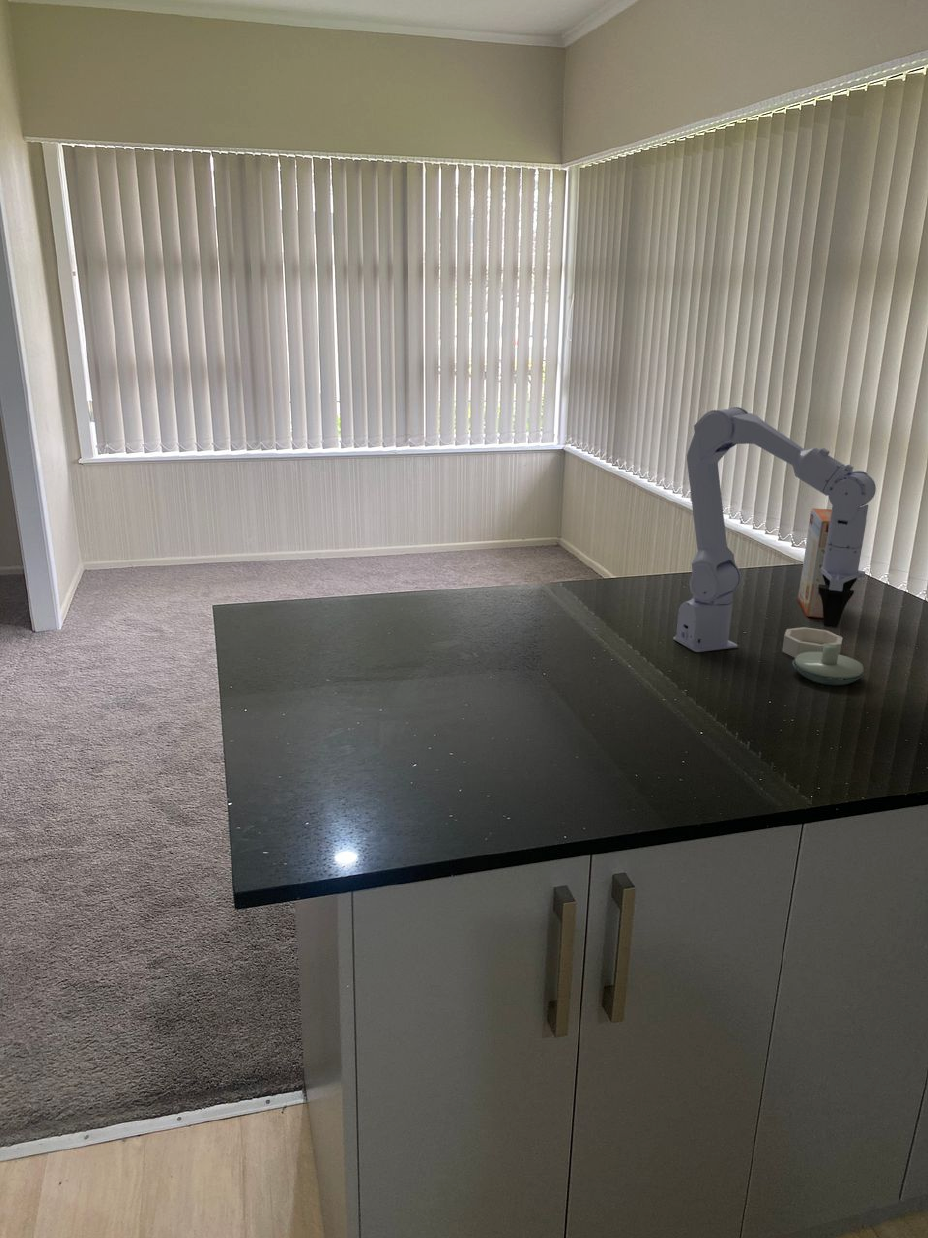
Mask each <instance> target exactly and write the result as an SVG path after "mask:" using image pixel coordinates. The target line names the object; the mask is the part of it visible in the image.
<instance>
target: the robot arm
mask: <svg viewBox="0 0 928 1238" xmlns="http://www.w3.org/2000/svg"><path fill="white" fill-rule="evenodd" d="M693 429H694V434H693V436H692V439H691V443H690V444H689V448H688V451H687V454H686V462H687V464H686V465H687V470H688V471H687V473H688V480H689V488H690V489H689V490H690V498H691V504H692V505H691V507H692V514H693V522H694V530H695V531H694V532H695V541H696V550H697V551H696V554H695V556H694V559H692V562H691V569H692V572H691V576H690V578H689V583H688V584H689V589H690V592H691V594H692V596H693V597H692V598H691V599H690V600H687V601H683V602H682V603H681V604H680V606H679V608H678V612H677V619H676V621H677V622H676V623H677V624H676V629H675V630H676V633H675V636H673V638H672V639H673V640H674V641H676V642H678V643H679V644H681V645H682V646H684V647H686V648H688V649H689V650H691V651H693V652H695V653H702V652H709V651H710V652H711V651H717V650H718V651H720V650H726V649H736V648H738V644H737V643H735V642H733V641H731V640H729V638H730V628H731V620H732V611H733V603H734V596H733V595H734V591H735V590H737V589H738V588H739V586H740V584H741V582H742V575H741V571H740V568H739V567H738V566H737V564H736V561H735V555H734V553H733V552H732V550H731V549H730V548H729V547H728V543H727V542H728V541H727V534H726V525H725V516H724V506H723V499H722V491H721V480H720V471H719V462H720V460H721V459H722V458H723V457H724V456H725V455H726V454H727V453H728V452H729V450H730V449H731V448H733V447H734V446H736V445H739V444H740V445H755V446H757V447H759V448H760V449H762V450H764V451H766V452H767V453H769V454H771V455H773V456H775V457H776V458H778V459H780V460H782V461H783V462H786V463H788V464H789V465H791V466H792V468H793V473H794V476H795V477H796V478H797V479H799V480H800V481H802V482H804V483H805V484H807V485H808V486H810V487H812V488H813V489H815V490H816V491H818V492H820V493H821V494H823V495H825V496H828V500H829V502H830V504H831V506H832V507H831V509H832V512H831V517H830V523H829V529H828V536H827V542H826V548H825V555H824V561H823V566H822V567H821V573H822V574H823V578H824V581H825V585H823V584H819V586H818V590H819V593H820V596H821V599H822V605H823V618H822V621H823V627H827V628H834V629H835V628H836V629H837V628H838V626H839V623H840V621H841V619H842V615H843V612H844V610H845V608H846V606H847V604H848V602H849V600H850V599H851V598H852V597H853V595H854V593H855V590H852V587H853V585H855V583H856V582H857V579H858V578H865V576H866V571H864V570H859V568H860V561H861V555H862V549H863V544H864V537H865V533H866V526H867V517H868V510H869V503H870V502H871V501H872V500H873V499H874V497H875V495H876V491H877V490H876V489H877V488H876V483H875V481H874V479H873V478H872V477H871V476H870V475H869V474H868V473H867V472H866V471H864V470H863V471H862V470H855V471H853V469H854V466H852V465H850V464H847V465H845V464H844V463H842V462H840V461H838V460H837V459H835V458H833V457H832V456H831V455H829V454H830V450H828V449H826V448H825V447H823V448H820V449H819V448H817V447H811V448H808V449H805V448H803V447H802V446H801V445H799V444H797V443H796V442H795V441H793V440H791V439H790V438H789V437H787V436H786V435H785V434H783V433H782V432H780V431H779V430H777V429H776V428H774V427H773V426H772V425H770V424H768V422H766V421H764V420H763V419H761V418H760V417H759V416H758V415H757V414H754V413H752V412H748V411H747V410H746V409H745V408H742V407H740V406H734V407H730V408H724V409H712V410H709V411H707V412H706V413H704V414H703V415H702V416H701V418H700V419H698V420H697V422H696V423H695V424H694V425H693Z"/></svg>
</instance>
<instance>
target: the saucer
mask: <svg viewBox="0 0 928 1238" xmlns="http://www.w3.org/2000/svg"><path fill="white" fill-rule="evenodd" d="M791 665H792V666H793V667H794V669H795V671H797V672H798V673H799V674H801V676H802V677H804V678H805V679H807V680H808V681H811V682H814V683H817V684H820V683H821V685H827V686H844V685H848V684H851V683H854V682H855V681H857V680H859V679H861V678H862V677H863V676H864V675H865V672H864V670H863V673H862V675H861V676H859V677H856V678H850V679H849V680H848V679H845V680H838V679H833V678H832V679H828V678H827V677H821V676H817V675H813V674H810V673H807V672H805V671H803V670H801V669H800V668H798V667H797V666H796V665H795V658H794V659H793V660H792V663H791Z"/></svg>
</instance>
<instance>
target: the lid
mask: <svg viewBox="0 0 928 1238" xmlns="http://www.w3.org/2000/svg"><path fill="white" fill-rule="evenodd" d="M839 649H840V647H839V646H837V645H833V644H825V645H824V647H823V652H805V653H801V654H798V655H797V656H796V658H794V659H795V665H796V666H797V667H798V668H800V669H801V670H803V671H805V672H807V673H810V674H813V675H817V676H821V677H827V678H835V679H845V680H848V679H850V678H856V677H859V676H861V675H862V673H863V671H864V669H865V668H864V665H863V664H862V663H861V662H860V661H858V660H856V659H855V658H852V657H849V656H846V655H842V654H840V655H839Z"/></svg>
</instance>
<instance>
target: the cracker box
mask: <svg viewBox="0 0 928 1238" xmlns="http://www.w3.org/2000/svg"><path fill="white" fill-rule="evenodd" d="M831 512H832V508H811V510H810V515H809V517H810V518H809V523H808V524H809V525H808V529H807V536H806V537H807V538H806V543H805V550H804V551H805V552H804V556H803V562H802V563H803V565H802V569H801V574H800V575H801V576H800V583H799V589H798V595H797V600H798V601H799V603H800V605H801V608H802V610H803V611H804V613H805V616H806V617H808V618H818V619H823V605H822V599H821V596H820V593H819V590H818V586H819V584H823V585H825V581H824V578H823V574H822V573H821V567H822V566H823V561H824V555H825V548H826V542H827V536H828V529H829V523H830V517H831Z"/></svg>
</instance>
